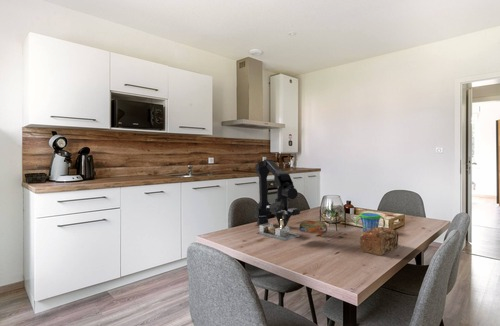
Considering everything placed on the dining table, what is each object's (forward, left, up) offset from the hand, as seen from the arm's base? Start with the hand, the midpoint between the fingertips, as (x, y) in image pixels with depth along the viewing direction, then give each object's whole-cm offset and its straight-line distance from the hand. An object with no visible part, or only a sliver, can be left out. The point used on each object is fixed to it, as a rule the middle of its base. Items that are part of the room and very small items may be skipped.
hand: (282, 226), depth 151 cm
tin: (+8, +17, -7) cm, 20 cm away
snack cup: (+27, +46, -7) cm, 54 cm away
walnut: (-8, 0, -5) cm, 9 cm away
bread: (+43, +19, -7) cm, 47 cm away
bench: (-3, 0, -6) cm, 7 cm away
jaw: (0, 0, -5) cm, 5 cm away
